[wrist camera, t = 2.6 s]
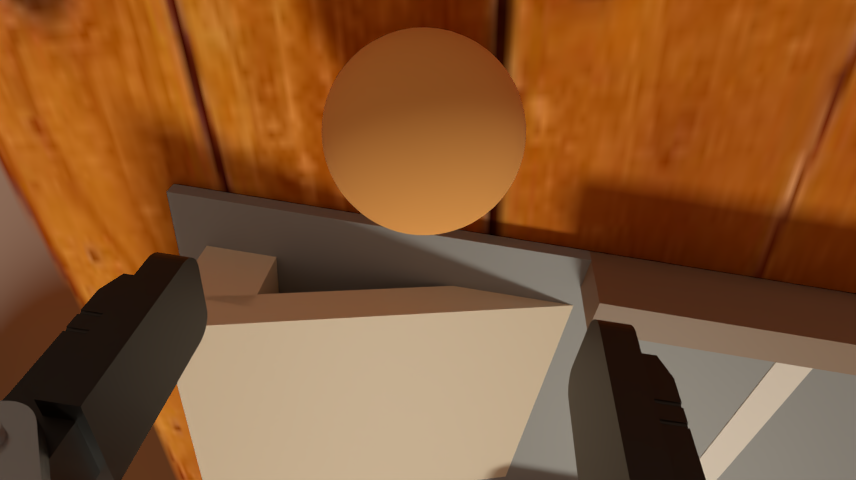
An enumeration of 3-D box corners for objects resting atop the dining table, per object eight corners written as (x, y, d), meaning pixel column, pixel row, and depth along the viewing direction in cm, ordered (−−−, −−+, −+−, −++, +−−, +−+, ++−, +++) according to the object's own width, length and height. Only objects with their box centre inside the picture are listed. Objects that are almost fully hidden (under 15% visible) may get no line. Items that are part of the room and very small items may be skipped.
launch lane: (230, 430, 35) (180, 543, 29) (183, 173, 23) (84, 282, 18) (905, 543, 34) (980, 680, 29) (1209, 338, 22) (1432, 504, 17)
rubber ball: (350, -13, 17) (290, 54, 12) (542, 17, 17) (557, 96, 12) (345, 157, 21) (298, 258, 16) (503, 182, 21) (503, 291, 16)
